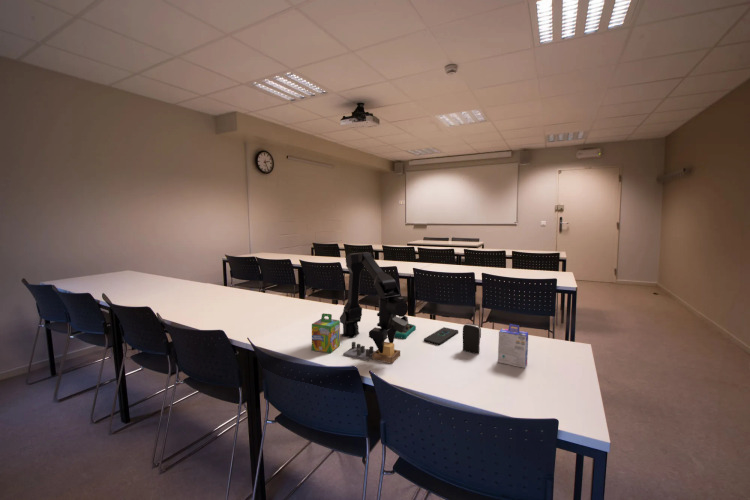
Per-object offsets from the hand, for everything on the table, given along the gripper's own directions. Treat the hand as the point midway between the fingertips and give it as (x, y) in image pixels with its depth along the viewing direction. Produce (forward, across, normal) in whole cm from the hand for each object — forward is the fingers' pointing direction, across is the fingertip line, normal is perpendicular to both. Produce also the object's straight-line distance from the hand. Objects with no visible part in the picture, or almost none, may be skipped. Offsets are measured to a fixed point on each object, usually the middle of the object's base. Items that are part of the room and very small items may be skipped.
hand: (386, 348), depth 129 cm
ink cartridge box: (+4, +17, -45) cm, 48 cm away
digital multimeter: (+4, +29, +4) cm, 29 cm away
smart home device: (+4, +31, -14) cm, 34 cm away
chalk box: (+4, -3, +27) cm, 27 cm away
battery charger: (+4, +21, -29) cm, 36 cm away
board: (+4, -2, +11) cm, 12 cm away
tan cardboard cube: (+3, 0, 0) cm, 3 cm away
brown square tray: (+4, 0, 0) cm, 4 cm away
